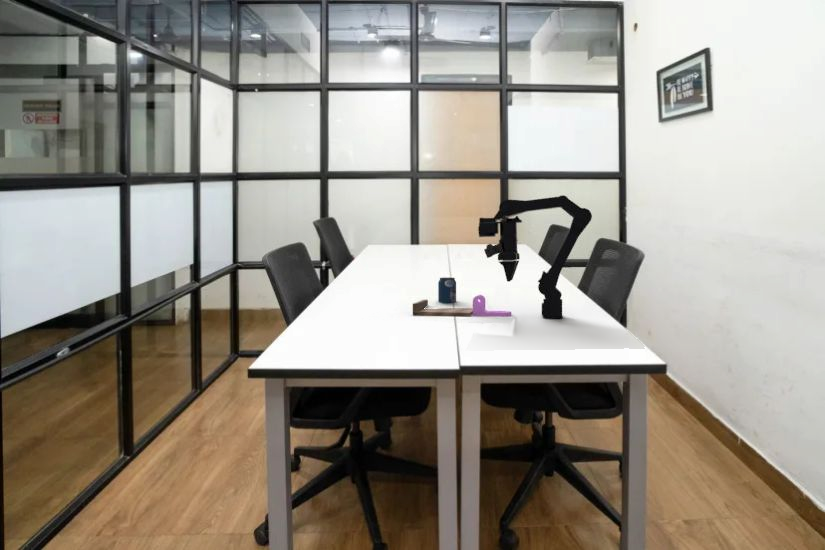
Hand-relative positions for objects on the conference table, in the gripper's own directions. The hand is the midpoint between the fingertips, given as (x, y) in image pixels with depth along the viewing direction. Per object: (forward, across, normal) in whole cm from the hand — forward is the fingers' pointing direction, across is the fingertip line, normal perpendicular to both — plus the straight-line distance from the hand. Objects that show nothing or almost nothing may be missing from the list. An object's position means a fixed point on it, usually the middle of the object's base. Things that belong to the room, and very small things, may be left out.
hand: (509, 280), depth 203 cm
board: (+11, 0, -23) cm, 26 cm away
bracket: (+12, +3, -6) cm, 14 cm away
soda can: (+11, -17, -26) cm, 33 cm away
